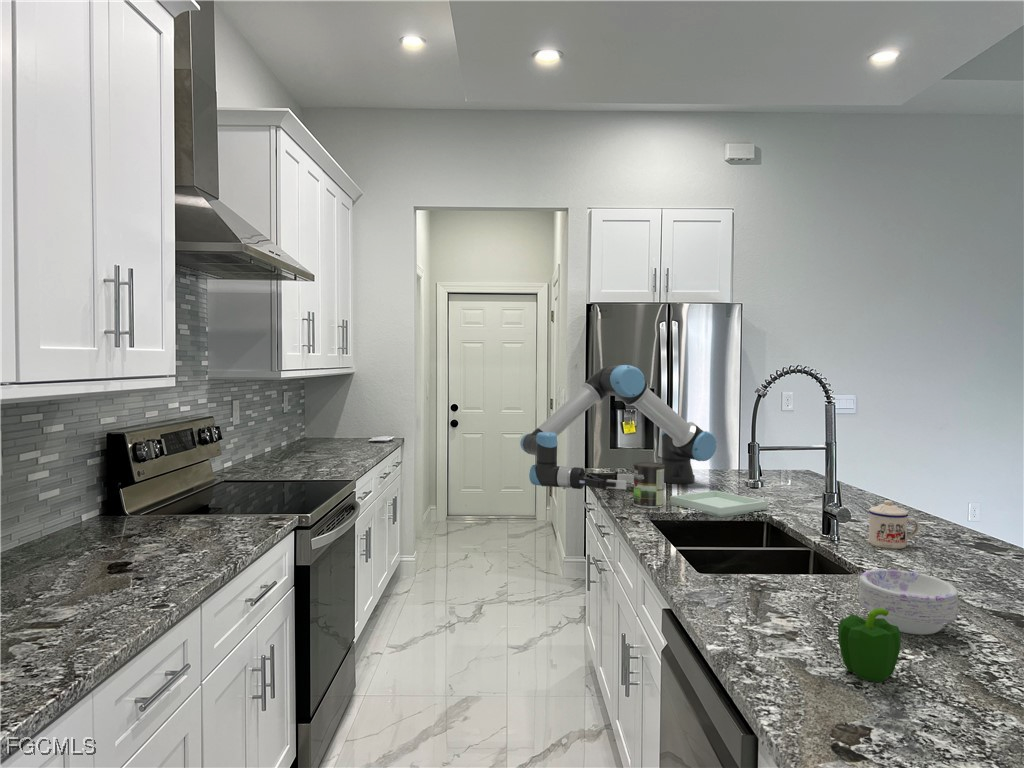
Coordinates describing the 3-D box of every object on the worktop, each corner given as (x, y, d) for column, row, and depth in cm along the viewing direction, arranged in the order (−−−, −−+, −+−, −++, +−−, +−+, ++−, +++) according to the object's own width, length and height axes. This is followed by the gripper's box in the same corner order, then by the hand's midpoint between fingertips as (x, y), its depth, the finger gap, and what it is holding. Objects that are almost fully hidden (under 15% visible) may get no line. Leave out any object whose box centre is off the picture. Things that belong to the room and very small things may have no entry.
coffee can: (642, 509, 214) (642, 466, 214) (627, 503, 224) (628, 462, 224) (670, 507, 217) (670, 465, 217) (654, 501, 227) (654, 461, 227)
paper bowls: (919, 648, 107) (920, 600, 107) (840, 616, 121) (840, 574, 121) (977, 634, 113) (978, 588, 113) (895, 605, 127) (896, 564, 127)
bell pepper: (840, 682, 95) (841, 614, 95) (834, 659, 103) (835, 596, 103) (906, 692, 92) (907, 622, 92) (895, 668, 100) (896, 603, 100)
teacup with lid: (874, 548, 168) (875, 503, 168) (863, 539, 177) (863, 496, 177) (925, 551, 166) (926, 505, 166) (911, 542, 175) (912, 498, 174)
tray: (715, 498, 233) (715, 490, 233) (767, 510, 214) (767, 501, 214) (670, 504, 222) (670, 496, 222) (720, 517, 203) (720, 508, 203)
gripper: (582, 482, 243) (639, 487, 234) (560, 494, 220) (621, 499, 211) (582, 462, 243) (639, 466, 234) (560, 472, 220) (621, 476, 211)
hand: (631, 482), depth 223 cm, fingers open, 13 cm apart
